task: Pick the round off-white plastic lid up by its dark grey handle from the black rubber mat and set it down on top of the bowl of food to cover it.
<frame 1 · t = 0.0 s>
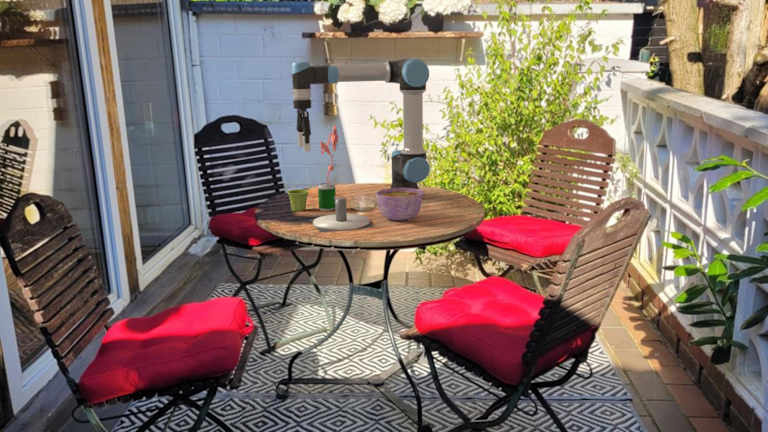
hand: (304, 149, 306), 28 cm above the table, fingers open, 13 cm apart
plant pot: (298, 211, 316), on the table
mat: (341, 224, 290), on the table
bowl of food: (400, 220, 296), on the table
lid: (341, 223, 289), point 1 cm above the table, touching mat
red flower stem: (337, 198, 340), on the table
soda can: (327, 211, 315), on the table
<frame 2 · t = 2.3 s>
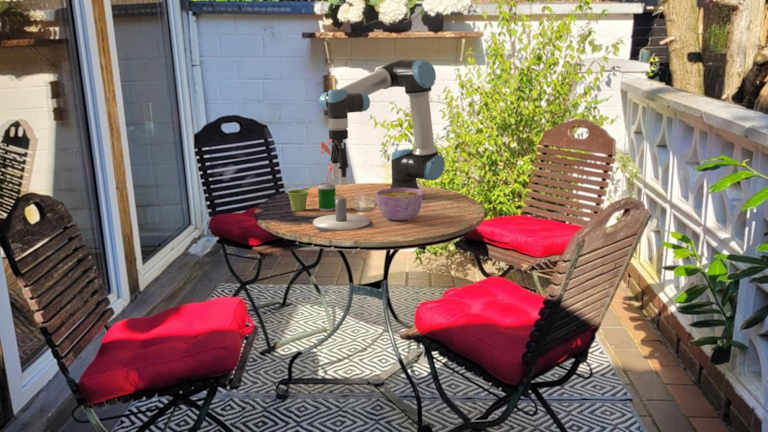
hand: (339, 182, 285), 18 cm above the table, fingers open, 13 cm apart
nothing on the table moved.
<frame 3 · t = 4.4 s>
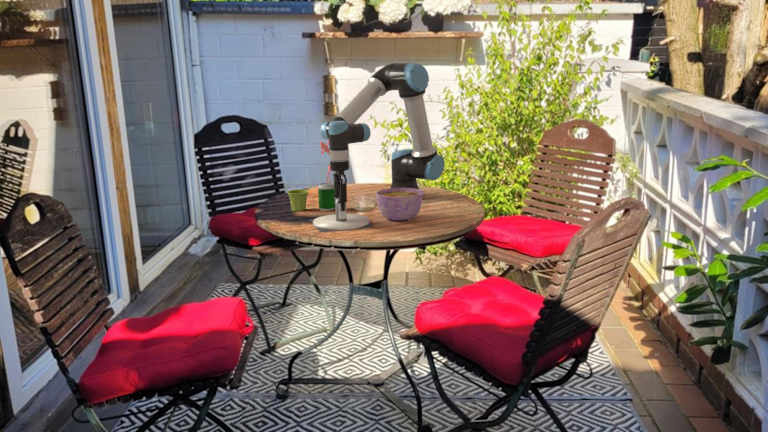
hand: (341, 217, 289), 3 cm above the table, fingers closed on lid, 4 cm apart
lid: (341, 223, 289), point 1 cm above the table, touching gripper, mat
everything else where it was.
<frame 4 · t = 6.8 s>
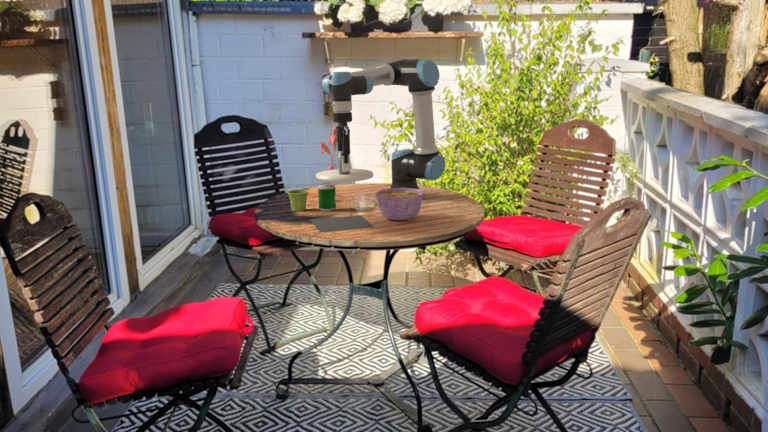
hand: (344, 170, 285), 22 cm above the table, fingers closed on lid, 4 cm apart
lid: (344, 176, 286), point 20 cm above the table, touching gripper
everything else where it was.
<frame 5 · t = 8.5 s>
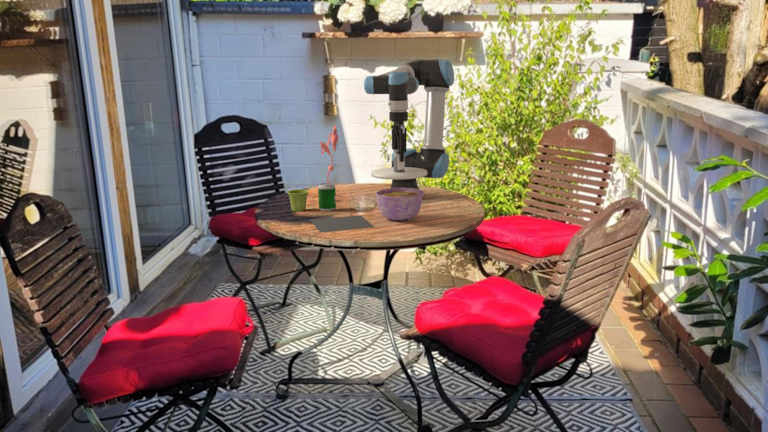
hand: (399, 168, 291), 22 cm above the table, fingers closed on lid, 4 cm apart
lid: (399, 174, 292), point 19 cm above the table, touching gripper
everything else where it was.
when the fingers open (16 cm above the table, at t = 9.6 s): lid drops 2 cm, resting on bowl of food.
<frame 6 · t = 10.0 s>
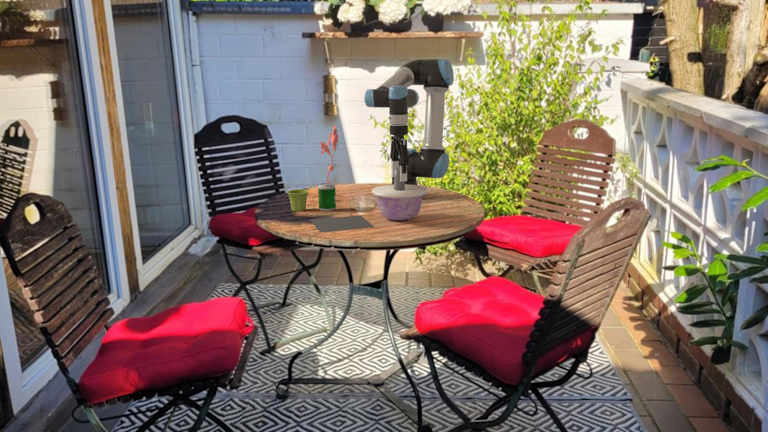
hand: (399, 178, 292), 17 cm above the table, fingers open, 10 cm apart
bowl of food: (400, 220, 296), on the table, touching lid
lid: (399, 192, 294), point 11 cm above the table, touching bowl of food
everything else where it was.
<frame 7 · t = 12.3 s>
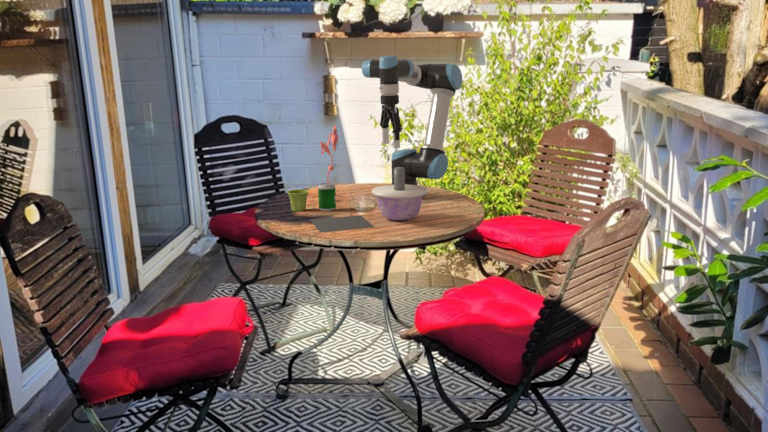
hand: (391, 145, 297), 30 cm above the table, fingers open, 13 cm apart
nothing on the table moved.
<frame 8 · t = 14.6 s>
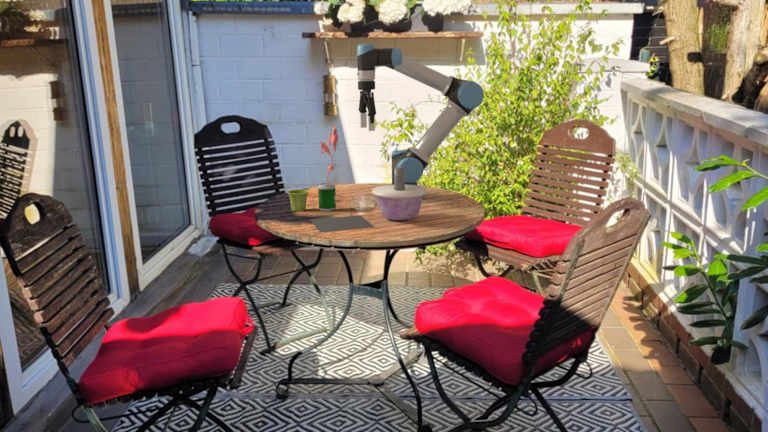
hand: (367, 129, 315), 35 cm above the table, fingers open, 13 cm apart
nothing on the table moved.
at the end: lid 0.0 cm from the bowl of food (horizontally); lid point 11.5 cm above the table; lid tilted 0° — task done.
